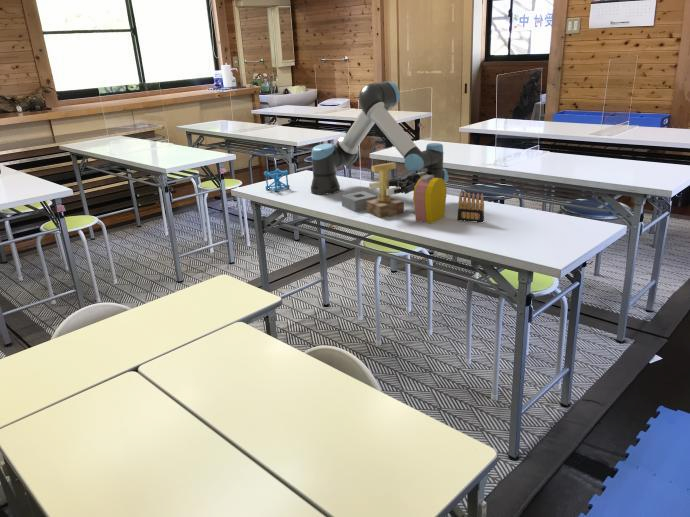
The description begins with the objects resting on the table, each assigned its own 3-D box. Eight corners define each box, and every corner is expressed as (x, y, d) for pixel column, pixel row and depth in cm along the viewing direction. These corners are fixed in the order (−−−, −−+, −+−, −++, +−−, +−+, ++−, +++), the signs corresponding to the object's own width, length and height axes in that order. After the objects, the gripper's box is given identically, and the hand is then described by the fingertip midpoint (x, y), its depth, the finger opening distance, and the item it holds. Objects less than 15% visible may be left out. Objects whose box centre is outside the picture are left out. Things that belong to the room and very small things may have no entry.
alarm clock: (428, 212, 236) (429, 171, 230) (446, 215, 232) (446, 172, 225) (412, 222, 225) (412, 178, 218) (430, 224, 221) (430, 180, 214)
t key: (372, 213, 239) (370, 165, 231) (393, 209, 244) (392, 162, 236) (376, 215, 236) (374, 166, 228) (397, 210, 241) (396, 163, 233)
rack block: (341, 205, 254) (341, 195, 252) (363, 201, 259) (363, 191, 257) (355, 211, 244) (354, 200, 242) (377, 206, 249) (377, 196, 247)
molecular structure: (279, 186, 297) (278, 168, 294) (290, 188, 290) (289, 170, 287) (264, 189, 291) (262, 171, 287) (275, 192, 284) (273, 173, 280)
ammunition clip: (457, 220, 224) (457, 192, 220) (458, 219, 226) (459, 191, 221) (482, 222, 219) (484, 194, 215) (484, 221, 221) (485, 192, 216)
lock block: (366, 211, 242) (365, 201, 240) (388, 207, 248) (388, 196, 246) (381, 218, 232) (380, 206, 231) (403, 212, 238) (403, 201, 236)
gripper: (435, 195, 235) (394, 203, 226) (401, 184, 256) (363, 192, 246) (435, 178, 232) (394, 186, 223) (401, 168, 253) (362, 176, 243)
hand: (377, 189), depth 235 cm, fingers open, 13 cm apart
